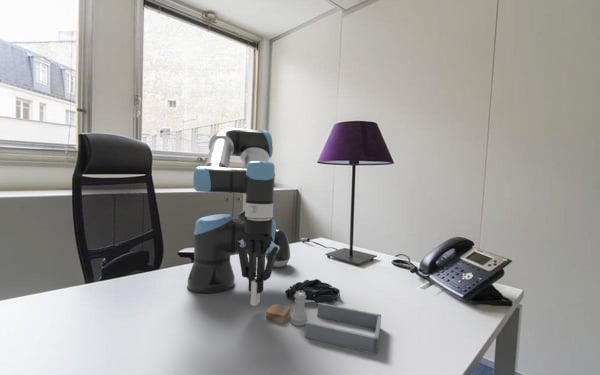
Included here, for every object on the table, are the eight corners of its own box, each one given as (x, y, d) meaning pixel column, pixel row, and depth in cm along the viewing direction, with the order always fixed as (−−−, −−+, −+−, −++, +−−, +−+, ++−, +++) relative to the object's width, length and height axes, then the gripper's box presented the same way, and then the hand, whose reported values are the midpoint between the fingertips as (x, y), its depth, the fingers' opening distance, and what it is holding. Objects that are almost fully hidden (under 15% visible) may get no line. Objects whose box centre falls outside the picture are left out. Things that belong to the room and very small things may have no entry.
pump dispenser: (262, 262, 125) (264, 226, 124) (286, 261, 128) (287, 226, 127) (267, 270, 115) (268, 232, 114) (292, 269, 118) (294, 231, 117)
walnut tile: (265, 321, 78) (265, 311, 77) (273, 312, 82) (273, 303, 82) (282, 325, 76) (283, 315, 76) (289, 316, 81) (290, 307, 81)
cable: (286, 306, 87) (287, 291, 87) (282, 287, 101) (283, 274, 100) (343, 305, 89) (343, 291, 89) (331, 286, 103) (332, 274, 103)
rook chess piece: (297, 316, 80) (299, 287, 80) (310, 322, 78) (312, 292, 77) (286, 322, 77) (288, 292, 76) (300, 328, 74) (301, 297, 74)
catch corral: (304, 337, 70) (305, 323, 70) (318, 314, 82) (318, 302, 82) (376, 354, 65) (378, 339, 65) (380, 327, 76) (381, 314, 76)
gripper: (230, 217, 78) (227, 304, 79) (275, 222, 74) (271, 313, 75) (244, 214, 85) (241, 294, 87) (286, 218, 81) (282, 302, 82)
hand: (255, 303), depth 81 cm, fingers closed
